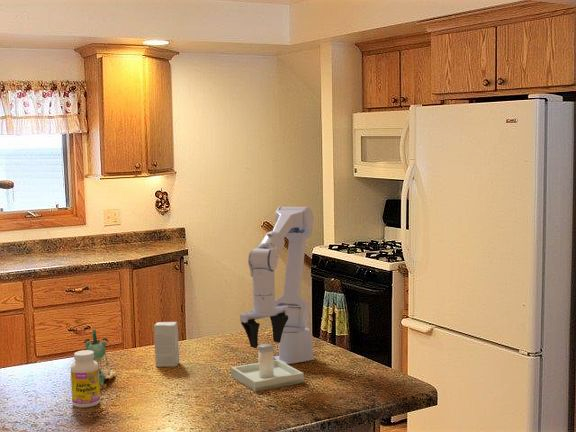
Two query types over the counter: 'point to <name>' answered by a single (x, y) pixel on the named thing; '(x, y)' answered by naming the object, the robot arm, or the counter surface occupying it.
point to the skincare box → (166, 344)
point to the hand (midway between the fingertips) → (265, 344)
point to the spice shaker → (266, 360)
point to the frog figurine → (99, 357)
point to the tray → (281, 378)
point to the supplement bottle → (85, 380)
